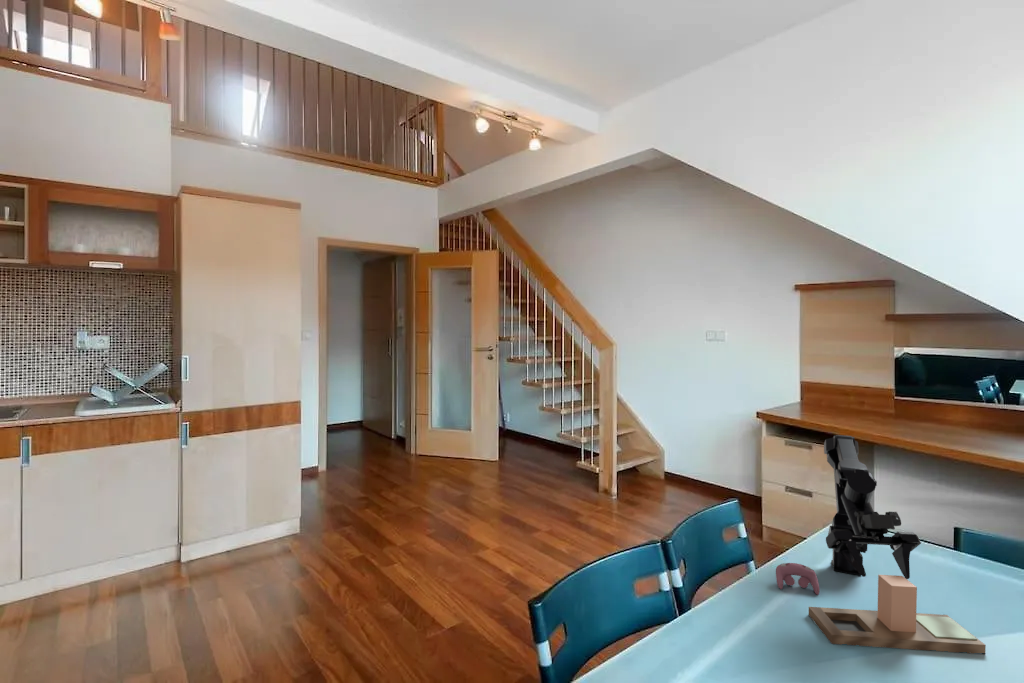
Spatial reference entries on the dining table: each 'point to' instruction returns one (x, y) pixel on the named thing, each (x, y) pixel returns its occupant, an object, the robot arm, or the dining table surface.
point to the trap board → (872, 632)
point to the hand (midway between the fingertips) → (886, 577)
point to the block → (897, 603)
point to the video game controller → (805, 572)
